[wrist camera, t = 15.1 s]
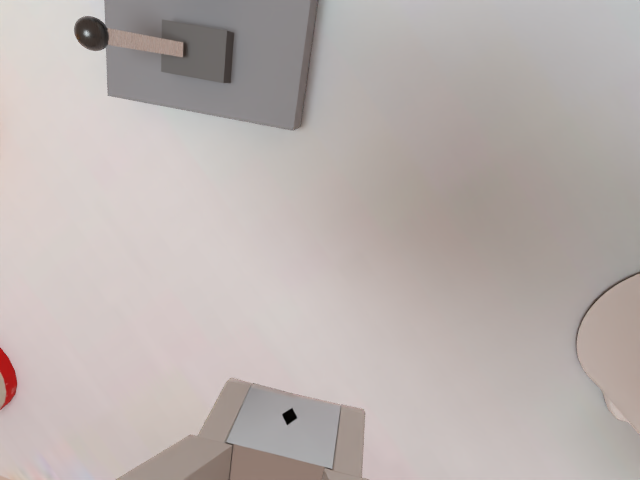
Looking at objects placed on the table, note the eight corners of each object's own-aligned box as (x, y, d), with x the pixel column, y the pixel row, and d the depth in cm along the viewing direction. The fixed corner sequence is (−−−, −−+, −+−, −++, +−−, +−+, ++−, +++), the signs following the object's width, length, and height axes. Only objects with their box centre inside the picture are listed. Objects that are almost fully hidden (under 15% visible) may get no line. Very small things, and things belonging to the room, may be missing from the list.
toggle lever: (186, 34, 29) (76, 12, 24) (185, 65, 29) (79, 48, 25) (175, 33, 30) (70, 12, 26) (174, 62, 31) (72, 46, 27)
